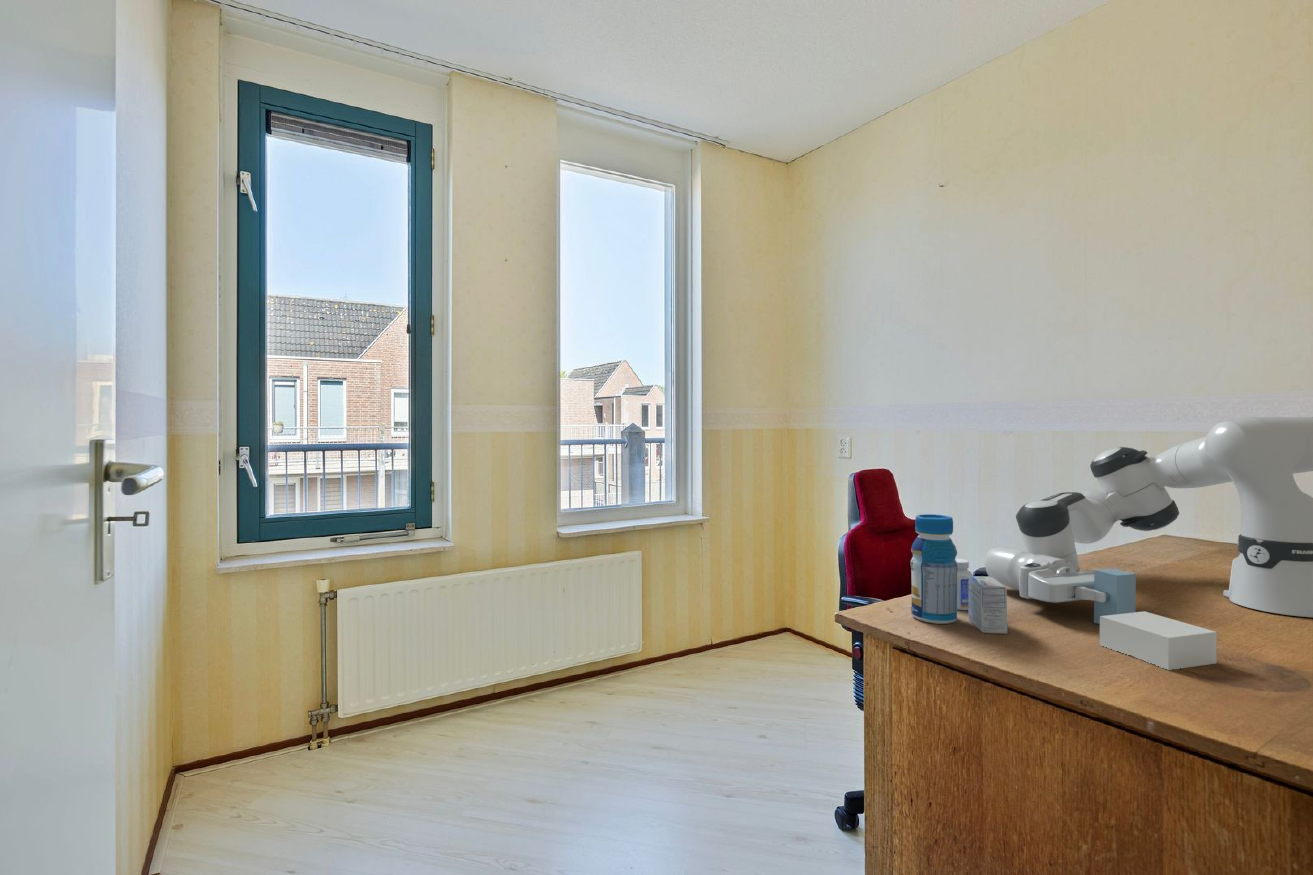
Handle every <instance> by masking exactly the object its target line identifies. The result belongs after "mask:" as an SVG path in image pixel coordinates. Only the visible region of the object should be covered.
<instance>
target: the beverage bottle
mask: <svg viewBox="0 0 1313 875" xmlns="http://www.w3.org/2000/svg"><path fill="white" fill-rule="evenodd" d="M914 524H915V525H914V528H915V533H917V534H918V535H917V536H916V538H915V539H914V541H913V542H912V545H911V550H910V551H911V554H912V557H911V559H910V568H911V570H910V572H911V579H910V580H911V607H910V608H911V609H910V612H911V613H910V614H911V615H912V617H913V618H914V619H916V620H919V621H921V622H925V623H929V624H936V625H937V624H938V625H947V624H952V623H955V622H956V621H957V619H958V611H957V571H958V564H957V562H956V560H955V558H956V557H957V555H958V550H957V547H956V545H955V543H954V541H953V540H952V539H951V537H950V536H953V533H954V520H953V517H951V516H950V515H949V516H948V515H943V514H934V513H933V514H926V513H925V514H918V515H916V516H915V520H914Z"/></svg>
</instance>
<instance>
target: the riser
mask: <svg viewBox="0 0 1313 875" xmlns="http://www.w3.org/2000/svg"><path fill="white" fill-rule="evenodd" d="M1217 637H1218V633H1217V631H1215V630H1212V629H1208V628H1204V627H1201V626H1197V625H1194V624H1190V623H1187V622H1184V621H1181V620H1177V619H1172V618H1170V617H1166V616H1162V615H1159V614H1156V613H1152V612H1148V611H1135V612H1134V613H1125V614H1116V615H1107V616H1100V624H1099V646H1101V647H1103V646H1104V647H1103V648H1106V647H1107V648H1106V649H1109V650H1111V649H1112V651H1113V652H1117V651H1119V652H1121V653H1120V654H1122V653H1124V654H1123V655H1125V654H1127V655H1126V656H1128V655H1132V656H1134V657H1136V658H1138V659H1137V660H1139V659H1142V660H1144V661H1146V662H1145V663H1147V662H1148V663H1147V664H1150V663H1152V664H1155V665H1156V667H1158V666H1159V667H1158V668H1161V669H1163V668H1164V669H1163V670H1166V669H1167V670H1166V671H1172V670H1173V669H1174V670H1179V669H1180V668H1181V669H1187V668H1193V667H1201V666H1207V665H1214V664H1217V643H1218V642H1217V640H1218V639H1217ZM1119 652H1118V653H1119ZM1136 658H1135V659H1136ZM1144 661H1143V662H1144ZM1152 664H1151V665H1152ZM1155 665H1154V666H1155ZM1181 669H1180V670H1181Z"/></svg>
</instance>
